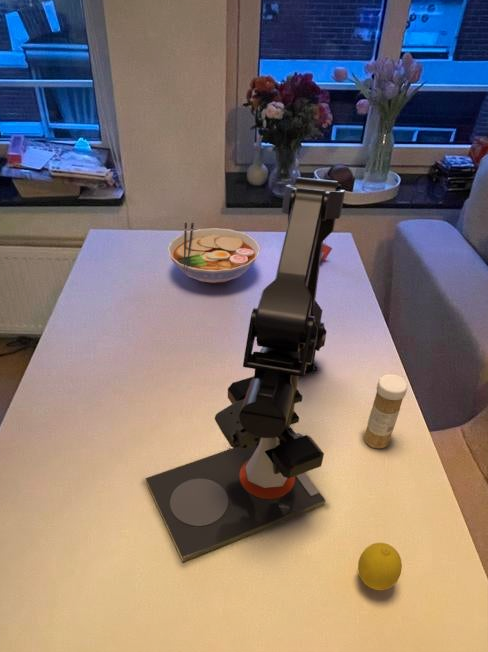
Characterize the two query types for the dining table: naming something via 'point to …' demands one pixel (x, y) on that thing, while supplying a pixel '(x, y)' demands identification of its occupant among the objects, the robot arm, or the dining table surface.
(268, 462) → the flask
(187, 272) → the ramen bowl
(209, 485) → the cooktop
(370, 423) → the sprinkles bottle
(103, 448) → the dining table surface
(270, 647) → the dining table surface
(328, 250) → the geometric puzzle
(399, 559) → the lemon
